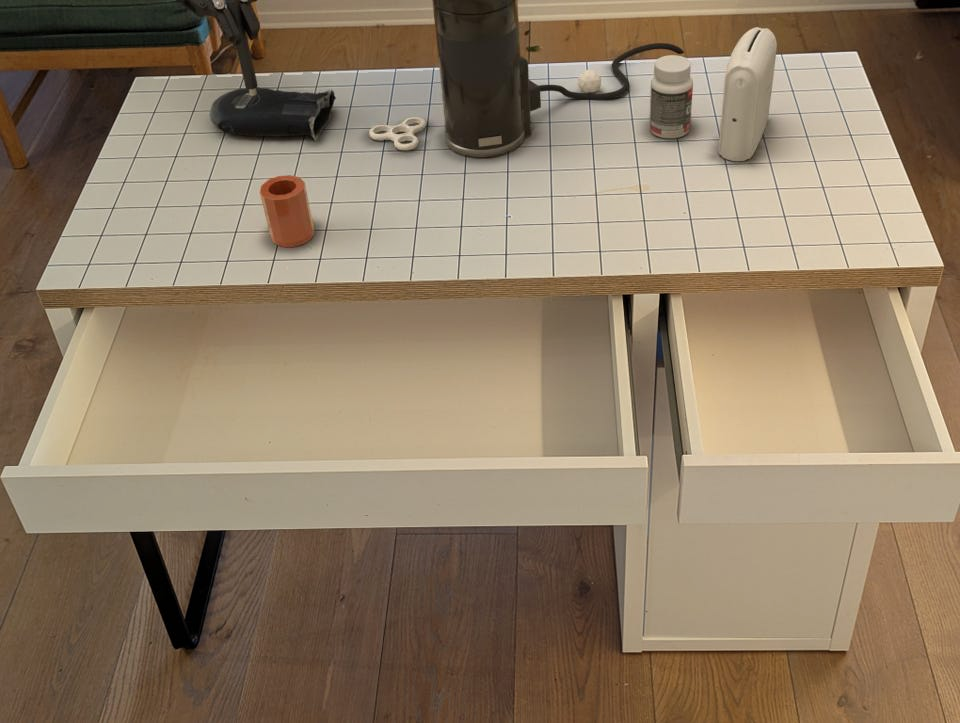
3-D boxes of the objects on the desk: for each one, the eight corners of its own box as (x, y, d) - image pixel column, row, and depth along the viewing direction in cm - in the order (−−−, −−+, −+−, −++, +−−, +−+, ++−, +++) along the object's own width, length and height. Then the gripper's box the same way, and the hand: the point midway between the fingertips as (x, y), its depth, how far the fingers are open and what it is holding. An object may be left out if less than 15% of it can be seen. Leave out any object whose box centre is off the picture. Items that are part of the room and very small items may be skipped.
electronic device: (340, 114, 137) (228, 95, 139) (337, 78, 133) (221, 59, 134) (317, 161, 131) (201, 141, 133) (314, 125, 127) (193, 104, 129)
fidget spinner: (422, 119, 132) (421, 113, 131) (438, 143, 127) (437, 138, 126) (367, 132, 130) (366, 126, 130) (381, 157, 126) (380, 152, 125)
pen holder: (303, 217, 118) (293, 170, 114) (321, 236, 115) (311, 189, 111) (264, 232, 116) (253, 185, 112) (282, 252, 113) (270, 204, 109)
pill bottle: (693, 137, 124) (698, 70, 119) (653, 141, 124) (656, 74, 119) (685, 117, 128) (689, 51, 122) (645, 121, 128) (648, 55, 122)
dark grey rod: (256, 90, 131) (235, -6, 123) (261, 94, 130) (240, -1, 122) (245, 93, 131) (222, -2, 123) (250, 98, 130) (227, 2, 122)
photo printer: (751, 165, 119) (763, 62, 111) (713, 159, 121) (722, 56, 112) (771, 120, 126) (784, 19, 118) (735, 115, 127) (745, 15, 119)
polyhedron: (601, 86, 135) (601, 64, 133) (600, 98, 133) (601, 76, 131) (578, 87, 135) (578, 65, 133) (577, 98, 133) (577, 76, 131)
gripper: (126, -101, 118) (193, 43, 118) (241, -130, 123) (305, 8, 123) (125, -66, 125) (188, 70, 125) (234, -95, 130) (295, 36, 130)
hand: (246, 39), depth 124 cm, fingers closed on dark grey rod, 1 cm apart
